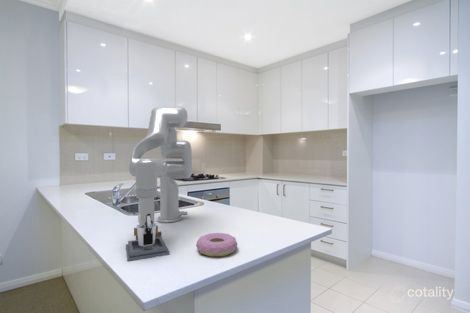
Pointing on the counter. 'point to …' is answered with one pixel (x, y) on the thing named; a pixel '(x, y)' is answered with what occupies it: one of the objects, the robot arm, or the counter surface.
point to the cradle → (146, 250)
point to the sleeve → (157, 234)
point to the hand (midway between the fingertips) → (147, 240)
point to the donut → (216, 244)
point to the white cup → (141, 231)
